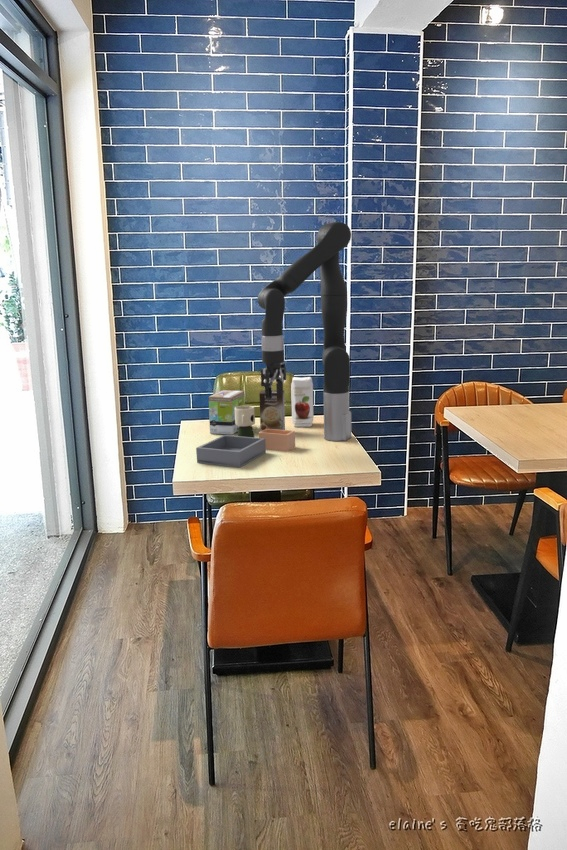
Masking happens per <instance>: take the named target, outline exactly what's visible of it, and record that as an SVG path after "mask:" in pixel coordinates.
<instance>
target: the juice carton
mask: <svg viewBox="0 0 567 850" xmlns="http://www.w3.org/2000/svg"><path fill="white" fill-rule="evenodd" d="M290 394H291V395H290V398H291V400H290V401H291V421H292V424H293V427H294V428H304V427H305V428H311V427H312V426H313V422H314V383H313V379H312V377H311V376H307V377H306V376H304V377H299V376H298V377H297V376H296V377H295V376H293V377H292V380H291V383H290Z"/></svg>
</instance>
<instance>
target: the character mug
mask: <svg viewBox="0 0 567 850" xmlns="http://www.w3.org/2000/svg"><path fill="white" fill-rule="evenodd" d="M255 416H256V414H255V406H253V405H245V406H238V407H235V424H236V425H237V426H239V428H238V431H237V436H242V437H254V438H255V434H254V429H253V426H254V425H255V424H256V417H255Z"/></svg>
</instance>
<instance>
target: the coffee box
mask: <svg viewBox="0 0 567 850" xmlns="http://www.w3.org/2000/svg"><path fill="white" fill-rule="evenodd" d="M285 420H286V419H285V390H284V389H283V394H277V389H276V390H275V389H272V398H270V399H269V398H266V397H265V389H264V390H263V389H262V390H260V392H259V423H260V425H259V426H260V427H259V428H260V431H259V432H261V431H263V430H265V429H277V430H286V421H285Z"/></svg>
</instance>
